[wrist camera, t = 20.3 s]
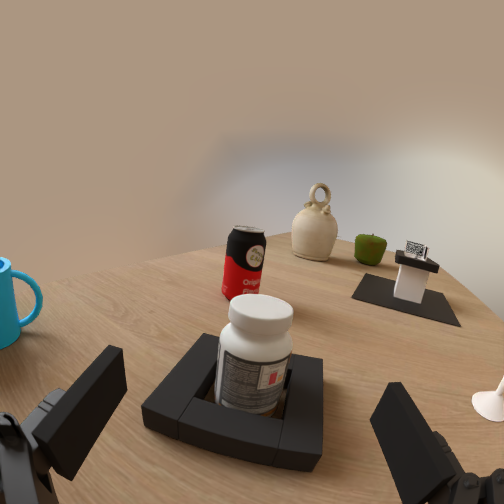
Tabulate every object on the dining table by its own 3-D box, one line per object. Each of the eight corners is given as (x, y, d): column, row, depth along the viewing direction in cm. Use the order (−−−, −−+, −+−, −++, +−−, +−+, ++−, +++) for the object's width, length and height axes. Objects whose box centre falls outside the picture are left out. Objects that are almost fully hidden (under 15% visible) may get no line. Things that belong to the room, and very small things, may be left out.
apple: (358, 257, 104) (363, 230, 102) (385, 265, 96) (391, 237, 94) (346, 260, 95) (352, 229, 93) (376, 269, 87) (383, 237, 85)
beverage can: (217, 300, 44) (225, 227, 42) (224, 288, 50) (233, 223, 48) (255, 307, 44) (267, 233, 41) (258, 294, 50) (269, 229, 47)
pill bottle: (289, 410, 21) (317, 313, 19) (237, 435, 18) (256, 330, 16) (250, 378, 26) (267, 287, 24) (200, 393, 22) (208, 294, 20)
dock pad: (143, 426, 17) (140, 405, 16) (202, 351, 29) (203, 332, 29) (311, 472, 14) (322, 454, 14) (316, 377, 27) (322, 358, 26)
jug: (285, 248, 99) (296, 180, 94) (326, 254, 100) (337, 188, 94) (290, 258, 84) (303, 177, 79) (337, 265, 85) (351, 187, 79)
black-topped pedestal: (460, 327, 42) (480, 265, 40) (351, 297, 54) (365, 235, 52) (442, 293, 66) (453, 250, 64) (365, 273, 79) (374, 230, 76)
